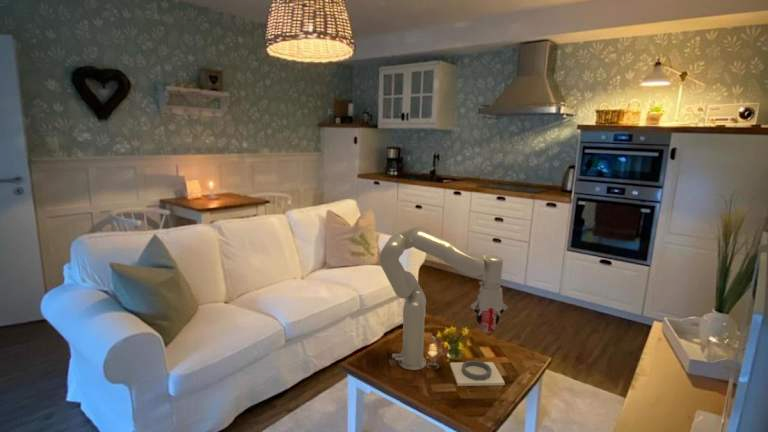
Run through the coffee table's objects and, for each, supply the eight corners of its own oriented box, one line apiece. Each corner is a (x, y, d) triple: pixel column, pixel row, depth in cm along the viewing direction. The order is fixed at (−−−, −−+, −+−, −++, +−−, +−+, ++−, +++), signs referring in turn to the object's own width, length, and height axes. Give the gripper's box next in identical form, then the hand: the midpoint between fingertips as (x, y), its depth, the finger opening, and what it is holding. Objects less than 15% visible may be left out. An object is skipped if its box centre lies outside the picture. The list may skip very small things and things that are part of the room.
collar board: (457, 385, 170) (458, 378, 170) (449, 364, 186) (450, 358, 185) (504, 385, 171) (505, 378, 171) (492, 364, 187) (493, 358, 186)
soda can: (493, 326, 182) (495, 301, 179) (496, 334, 175) (499, 307, 172) (477, 325, 182) (479, 300, 180) (479, 332, 175) (482, 306, 173)
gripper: (474, 287, 170) (470, 326, 173) (514, 287, 171) (509, 327, 175) (469, 281, 177) (465, 319, 181) (507, 281, 179) (503, 319, 182)
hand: (487, 322), depth 178 cm, fingers closed on soda can, 6 cm apart
